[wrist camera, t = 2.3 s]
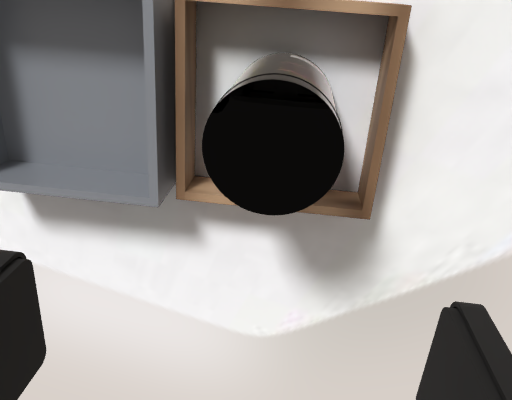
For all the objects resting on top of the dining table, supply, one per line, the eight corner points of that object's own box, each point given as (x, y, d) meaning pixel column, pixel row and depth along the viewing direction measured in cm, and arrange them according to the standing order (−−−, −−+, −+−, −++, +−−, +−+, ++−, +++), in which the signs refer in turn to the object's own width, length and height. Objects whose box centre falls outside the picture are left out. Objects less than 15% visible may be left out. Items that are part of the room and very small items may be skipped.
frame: (401, 4, 28) (411, 5, 25) (364, 200, 33) (369, 219, 30) (187, -12, 28) (174, -13, 26) (186, 182, 34) (176, 198, 31)
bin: (174, -13, 28) (152, -14, 24) (176, 181, 34) (158, 207, 30) (-27, -29, 29) (-81, -32, 25) (7, 164, 35) (-33, 186, 31)
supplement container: (219, 126, 32) (182, 182, 23) (256, 32, 29) (232, 52, 20) (305, 165, 33) (305, 236, 23) (351, 77, 30) (372, 117, 20)
